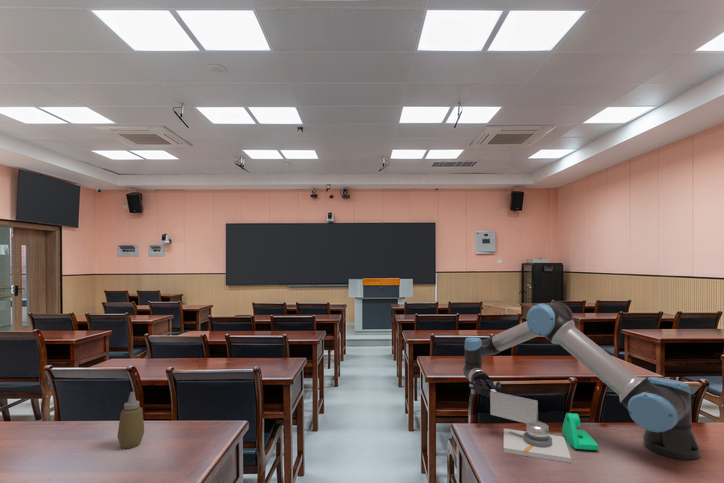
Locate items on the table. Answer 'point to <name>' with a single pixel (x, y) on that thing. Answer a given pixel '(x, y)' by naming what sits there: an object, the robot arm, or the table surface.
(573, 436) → the green mounting bracket
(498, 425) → the table surface
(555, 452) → the post base
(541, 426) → the brushed metal plate
